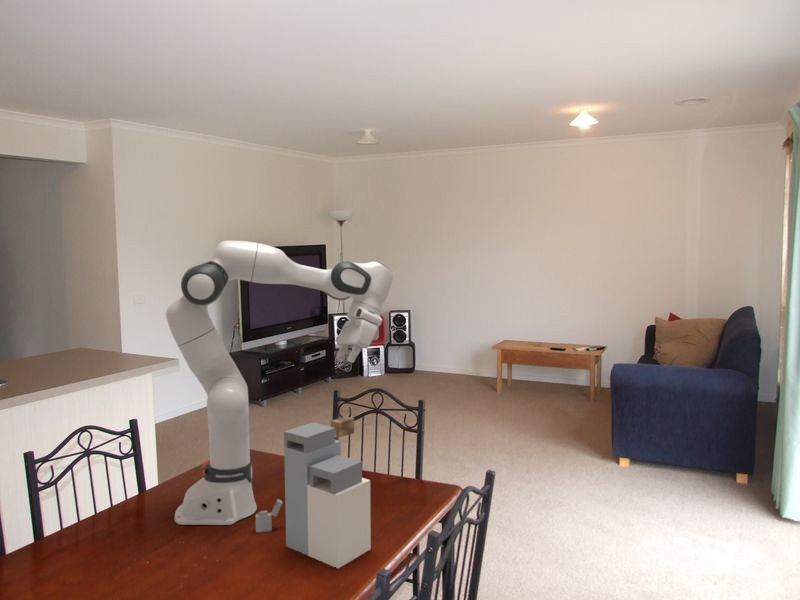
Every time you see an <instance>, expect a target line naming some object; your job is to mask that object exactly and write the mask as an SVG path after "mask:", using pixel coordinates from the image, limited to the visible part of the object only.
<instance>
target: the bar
mask: <svg viewBox="0 0 800 600" xmlns="http://www.w3.org/2000/svg"><path fill="white" fill-rule="evenodd" d="M330 427H334V428H335V439H336V438H338V439H340V438H343V437H345V436H349V435H353V434H355V418H354V417H349V416H343V417H340V418H336V419H332V420H330ZM302 445H303V444H302Z"/></svg>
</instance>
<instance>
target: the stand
mask: <svg viewBox="0 0 800 600" xmlns="http://www.w3.org/2000/svg"><path fill="white" fill-rule="evenodd" d="M341 442H342V441H341V440H338V439H336V438H335V428H334V427H331V425H329V426H328V425H324V424H321V423H317V422H309V423H307V424H302V425H300V426H297V427H294V428H291V429H290V428H289V429H288V430H285V431H284V430H283V443H284V444H283V445H284V446H283V448H284V451H283V452H284V453H283V454H284V493H285V494H284V496H285V497H284V499H285V500H284V501H285V503H284V504H285V506H284V507H285V544H286V545H285V546H286V548H289V549H291V550H294V551H295V552H298V551H299V552H298V553H300V552H301V554H303V555H306V556H307V557H310V558H312V559H314V558H315V559H314V560H317V561H319V562H321V561H322V562H321V563H323V564H327V565H328V566H331V567H333V568H335V567H336V569H340V568H342V567H343V566H345V565H346V564H348V563H350V562H352V561H353V560H355V559H357V558H358V557H360V556H362V555H363V554H366V552H368V551H370V550H371V549H372V548H371V547H372V546H371V544H372V543H371V541H372V539H371V537H372V536H371V535H372V534H371V533H372V532H371V522H372V521H371V520H372V519H371V518H372V517H371V479H367V478H365V477H363V464H362V463H363V462H362V461H361V460H357V459H354V458H350V457H348V456H347V457H346V456H343V455H342V452H341V451H342V449H341V448H342V447H341V446H342V445H341V444H342V443H341ZM302 444H303V445H302Z"/></svg>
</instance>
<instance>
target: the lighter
mask: <svg viewBox="0 0 800 600" xmlns="http://www.w3.org/2000/svg"><path fill="white" fill-rule="evenodd" d="M282 505H283V500H282V499H278V498H277V499H276V502H275V503H274V506H273V508H272V510H271V512H268V510H260V511H259V512H258V513H256V514H255V533H256V534H257V532H258V533H265V532H272V530H273V528H272V527H273V525H272V522H273V521H272V519H273V518H272V517H277V516H278V514H279V511H280V510H281V507H282Z"/></svg>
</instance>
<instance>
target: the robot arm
mask: <svg viewBox="0 0 800 600" xmlns="http://www.w3.org/2000/svg"><path fill="white" fill-rule="evenodd" d="M393 278H394V277H393V274H392V271H391V270H390V269H389V268H388V266H386V265H384V264H383V263H381V262H379V261H371V262H353V261H348V260H347V261H341V262H339V263H337V264H335V266H334V267H333V268H328V269H322V268H318V267H313V266H308V265H303V264H300V263H297V262H295V261H294V260H292V259H291V258H289V256H288V255H286V253H285V252H284V251H283V250H282V249H279V248H277V247H275V246H271V245H269V244H265V243H260V242H259V243H258V242H254V241H248V240H229V239H228V240H223V241H221V242H220V243H219V244H218V245H217V246H216V248H215V249H214V252H213V256H212V258H211V260H210V261H207V262H198V263H196V264H194V265H192V266H191V265H190V267H189V268H187V270H186V271H185V272H184V274H183V276H182V278H181V282H180V289H181V291H182V292H181V293H182V296H181V297H180V298H179V299H176V300H175V301H173V302H172V303H171V304H170V305H169V306H168V307H167V309H166V312H165V317H166V321H167V324H168V327H169V329H170V333H171V334H172V337H173V339H174V341H175V344H176V345H177V347H178V349H179V351H180V352H181V355H182V357H183V358H184V360H185V362H186V364H187V366H188V367H189V369H190V371H191V373H193V375H194V376H195V378H196V379H197V380H198V382H199V384H201V386H202V388H203V390H204V391H205V394H206V395H207V399H206V410H207V414H206V415H207V426H208V427H207V429H208V439H209V440H208V441H209V447H208V448H209V461H208V460H205V461H204V462H203V464H202V477H201V478H200V479H199V480H197V482H195V483H194V484H193V485H192V486H190V487H189V488H188V489H187V490H186V492H185V494H184V498H183V501H182V503H181V504H180V505H179V506H178V507H177V508H176V510H175V513H174V522H175V523H176V524H177V525H183V526H185V525H188V526H189V525H191V526H194V525H195V526H196V525H197V526H198V525H200V526H201V525H208V526H212V525H213V526H225V525H226V526H230V525H233V524H235V523H237V522H238V521H240V520H242V519H246V518H247V517H249V516H251V515H253V514H255V513H256V511H257V509H258V506H257V503H256V500H255V497H254V492H253V491H254V490H253V485H252V480H253V465H252V460H251V456H250V455H251V454H250V453H251V451H250V450H251V449H250V407H249V406H250V405H249V404H250V403H249V388H248V385H247V382H246V380H245V379H244V376H243V375H242V373H241V371H240V369H239V368H238V366H237V364H236V363H235V361H234V360H233V358H232V356H231V355H230V353H229V351H228V349H227V347H226V346H225V344H224V341H223V340H222V338H221V336H220V334H219V333H218V330H217V329H216V327H215V325H214V323H213V320H212V319H211V316H210V315H209V311H208V309H209V308H208V307H209V305H210V304H212V303H215V302H216V301H217V300H218V299H219V298H220V297H221V295H222V294H223V292H224V289H225V287H226V285H227V284H228V282H230V281H234V280H235V281H236V280H239V281H245V282H250V283H258V284H263V285H264V284H268V285H293V286H298V287H303V288H307V289H313V290H317V291H320V292H322V293H324V294H325V295H327V296H328V297H330V298H331V299H334V300H335V301H345V300H349V299H350V298H352V299H353V300H352V302H351V304H350V306H349V309H348V311H347V315H346V317H347V319H349V320H347V321H345V322H344V324H343V326H342V328H341V331H340V332H339V335H338V337H337V340H336V344H337V345H339V349H338V355H337V358H336V360H337V361H340V362H344V361H345V359H346V361H347V362H349V363H355V361H356V359H357V357H358V355H359V354H360V352H361V351H362V349H368V348H369V347H370V346H371V344H372V342H373V340H374V337H375V335H376V334H377V331H378V327H380V326H381V325H382V322H383V318H381V316H380V315H381V313H382V308H383V305H384V303H385V301H387V298H388V295H389V294H390V293H389V292H390V290H391V287H392V283H393ZM349 348H351V352H350V353H349V354H348V356H347V358H346V354H347V352H348V350H349Z"/></svg>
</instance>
